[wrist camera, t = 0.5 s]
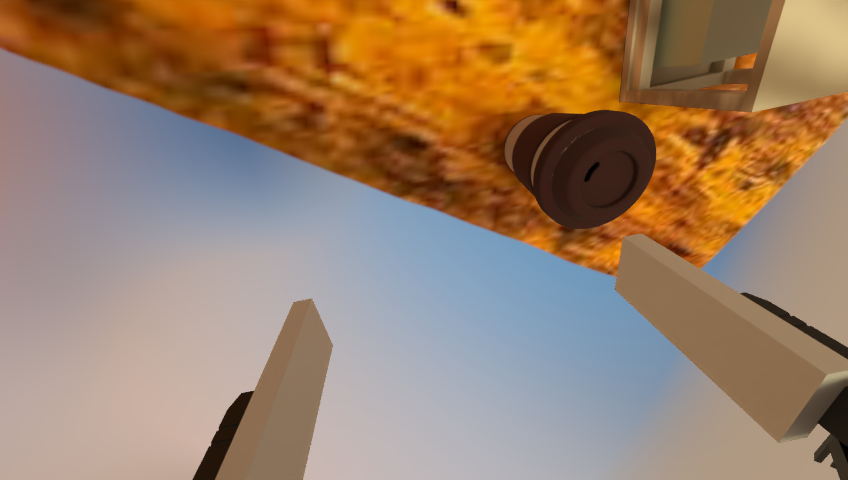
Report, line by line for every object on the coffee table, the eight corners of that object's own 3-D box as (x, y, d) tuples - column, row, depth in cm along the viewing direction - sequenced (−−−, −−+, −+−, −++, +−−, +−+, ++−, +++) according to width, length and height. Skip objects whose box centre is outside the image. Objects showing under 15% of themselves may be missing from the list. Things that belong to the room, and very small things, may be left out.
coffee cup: (581, 158, 38) (682, 198, 25) (511, 199, 40) (570, 257, 27) (556, 83, 34) (661, 83, 21) (478, 132, 36) (529, 162, 22)
